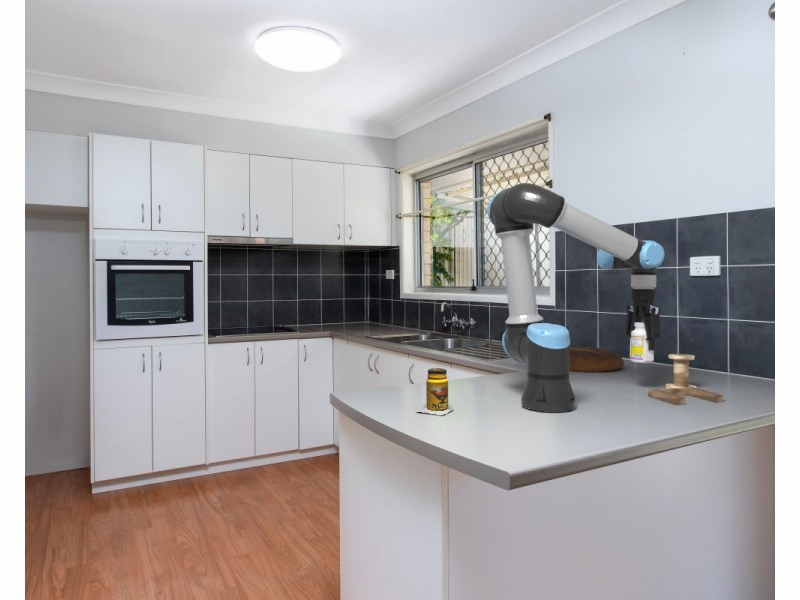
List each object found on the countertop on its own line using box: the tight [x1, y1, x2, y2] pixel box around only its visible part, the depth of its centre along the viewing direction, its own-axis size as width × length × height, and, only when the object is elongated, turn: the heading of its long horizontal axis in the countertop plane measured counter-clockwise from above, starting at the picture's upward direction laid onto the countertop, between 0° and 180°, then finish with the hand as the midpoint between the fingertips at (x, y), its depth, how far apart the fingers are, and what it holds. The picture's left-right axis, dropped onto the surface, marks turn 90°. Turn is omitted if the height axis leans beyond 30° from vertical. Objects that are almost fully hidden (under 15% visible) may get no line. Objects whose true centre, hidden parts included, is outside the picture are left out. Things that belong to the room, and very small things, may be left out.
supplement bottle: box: [630, 321, 653, 364], centre depth 174 cm, size 7×7×13 cm
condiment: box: [425, 367, 449, 411], centre depth 148 cm, size 7×8×12 cm
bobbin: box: [665, 353, 698, 389], centre depth 174 cm, size 9×9×11 cm
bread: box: [569, 346, 625, 373], centre depth 220 cm, size 28×27×9 cm
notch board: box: [647, 387, 724, 406], centre depth 161 cm, size 16×12×2 cm
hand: (641, 358), depth 174 cm, fingers closed on supplement bottle, 7 cm apart
